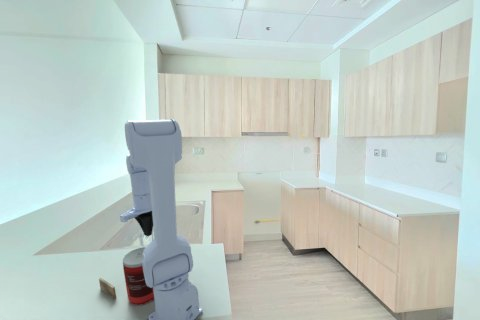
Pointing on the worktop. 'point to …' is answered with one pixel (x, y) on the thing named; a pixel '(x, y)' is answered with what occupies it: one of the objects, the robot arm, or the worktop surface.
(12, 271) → the worktop surface
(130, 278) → the canned food
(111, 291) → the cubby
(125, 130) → the robot arm
